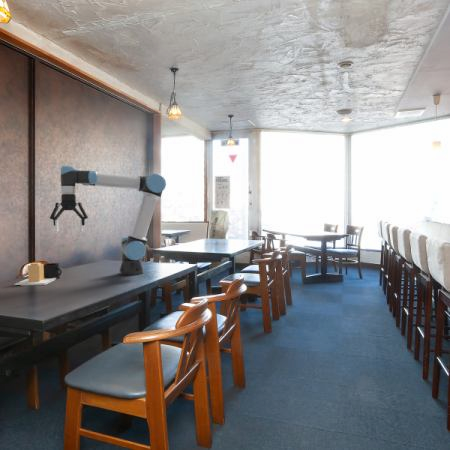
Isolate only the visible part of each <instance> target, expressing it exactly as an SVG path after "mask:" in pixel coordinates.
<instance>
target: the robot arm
mask: <svg viewBox="0 0 450 450" xmlns="http://www.w3.org/2000/svg"><path fill="white" fill-rule="evenodd" d="M76 184H81V185H82V186H92V187H105V188H114V189H115V188H116V189H117V188H118V189H127V190H136V191H137V192H141V194H142V200H141V203H140V206H139V209H138V212H137V216H136V219H135V222H134V226H133V229H132V232H131V233H130V234H129V235H128V236H126V237H122V238H121V242H120V244H121V263H120V267H119V271H118V274H119V275H121V276H135V275H142V274H144V267H143V263H142V262H141V259H143V257H145V254H146V252H147V243H148V238H147V236H148V231H149V228H150V224H151V221H152V219H153V215H154V211H155V208H156V206H157V205H156V204H157V202H158V200H159V199H161V197H162V195H163V192H164V190H165V188H166V186H167V183H166V179H165V177H164V176H163V175H162V174H160V173H150V174H149V175H145V176H144V175H143V176H141V175H138V176H136V177H134V176H124V175H123V176H122V175H113V174H104V173H103V174H102V173H98V171H96V170H79V169H78V170H77V169H76V168H75V166H73V165H72V166H69V165H65V166H64V165H63V166H61V167H60V193H61V195H60V197H61V198H60V200H61V202H55V206H54V208H53V210H52V212H51V215H49V219H50V220H52V221H53V226H54V228H55V233H56V232H58V233H59V232H60V231H59V217H60V216H61V215H62V214H63V213H64V212H65V211H73V212H74V213H75V214H76V215H77V216H78V218H79V219H80V220H79V228H80V229H79V231H80V232H84V226H85V222H86V221H85V220H86V219H88V218H89V217H88V214H87V213H86V211H85V209H84V207H83V204H82V202H80V201H79V202H76V201H77V200H76V199H77V197H76ZM60 207H61V208H60ZM77 207H78V208H79V210H80V211H79V210H78V209H77ZM59 208H60V209H59ZM58 210H59V211H58Z"/></svg>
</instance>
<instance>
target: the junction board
mask: <svg viewBox="0 0 450 450" xmlns="http://www.w3.org/2000/svg"><path fill="white" fill-rule="evenodd" d="M56 280H57V279H56V278H44V280H42V281H40V282H28V278H26V279H23V280H21V281H19V282H16V283H14V286H15V285H21V286H46V285H47V284H50V283H52V282H54V281H56Z"/></svg>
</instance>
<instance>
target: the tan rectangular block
mask: <svg viewBox="0 0 450 450" xmlns="http://www.w3.org/2000/svg"><path fill="white" fill-rule="evenodd" d="M43 264H44V263H42V262H31V263H30V265H28V266H27V276H28V278H27V279H28V282H40V281H42V280H44V265H43Z"/></svg>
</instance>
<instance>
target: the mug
mask: <svg viewBox="0 0 450 450" xmlns="http://www.w3.org/2000/svg"><path fill="white" fill-rule="evenodd" d="M42 264H43V265H44V278H56V280H58V279H60V278H61V277H60V276H61V275H62V272H63V271H62V269H61V268H60V263H58V262H52V263H51V262H50V263H42Z"/></svg>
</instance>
